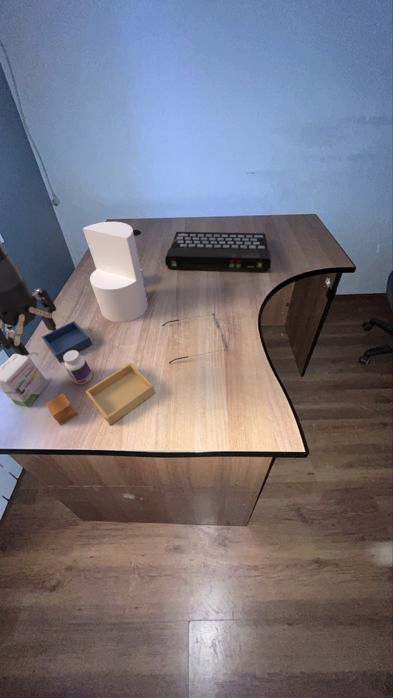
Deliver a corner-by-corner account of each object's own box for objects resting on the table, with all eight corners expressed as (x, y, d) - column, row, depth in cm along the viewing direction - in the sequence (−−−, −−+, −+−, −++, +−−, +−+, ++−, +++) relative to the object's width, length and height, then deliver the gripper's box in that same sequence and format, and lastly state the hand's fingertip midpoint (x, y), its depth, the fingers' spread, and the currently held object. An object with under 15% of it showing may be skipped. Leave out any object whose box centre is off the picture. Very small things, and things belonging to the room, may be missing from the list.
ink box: (29, 408, 71) (4, 382, 63) (14, 403, 72) (-12, 377, 64) (49, 383, 77) (29, 356, 68) (35, 379, 78) (14, 352, 69)
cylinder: (121, 289, 108) (101, 218, 88) (156, 300, 102) (144, 227, 82) (91, 314, 98) (61, 239, 77) (129, 327, 92) (106, 251, 72)
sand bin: (110, 425, 67) (106, 418, 64) (89, 398, 73) (85, 391, 70) (155, 392, 73) (153, 385, 71) (132, 370, 79) (130, 362, 77)
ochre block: (60, 425, 67) (52, 415, 64) (53, 413, 70) (45, 403, 66) (77, 414, 69) (70, 404, 66) (70, 403, 72) (62, 393, 68)
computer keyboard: (264, 243, 132) (266, 230, 128) (269, 273, 113) (271, 258, 109) (176, 241, 137) (174, 228, 132) (166, 270, 118) (164, 255, 113)
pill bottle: (96, 372, 79) (85, 350, 72) (86, 386, 75) (73, 364, 68) (80, 368, 80) (68, 346, 73) (70, 382, 76) (56, 361, 69)
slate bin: (60, 362, 82) (55, 355, 79) (46, 344, 88) (41, 336, 85) (92, 344, 87) (89, 337, 84) (77, 328, 93) (74, 320, 90)
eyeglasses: (229, 354, 82) (229, 345, 79) (169, 365, 81) (167, 356, 78) (214, 317, 95) (214, 308, 92) (162, 326, 93) (160, 318, 90)
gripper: (15, 260, 56) (49, 319, 67) (-50, 298, 47) (2, 358, 58) (43, 266, 53) (72, 326, 65) (-20, 307, 44) (27, 368, 56)
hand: (39, 341), depth 62 cm, fingers open, 8 cm apart
